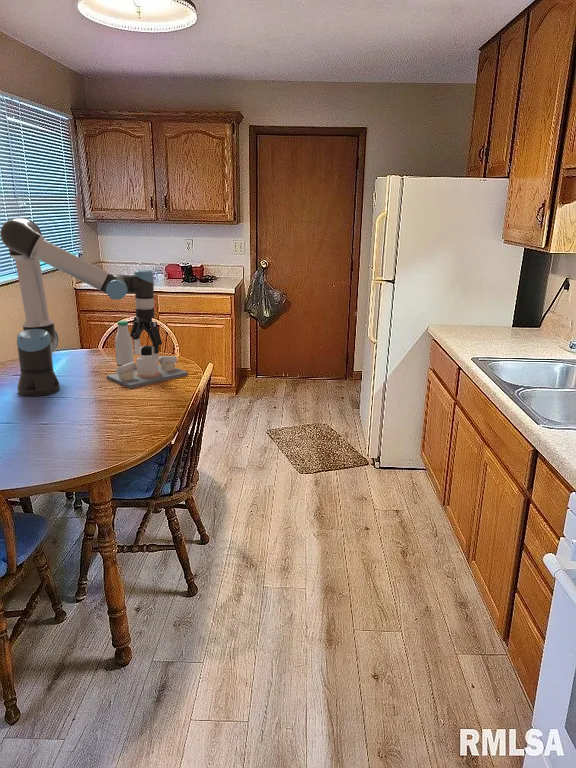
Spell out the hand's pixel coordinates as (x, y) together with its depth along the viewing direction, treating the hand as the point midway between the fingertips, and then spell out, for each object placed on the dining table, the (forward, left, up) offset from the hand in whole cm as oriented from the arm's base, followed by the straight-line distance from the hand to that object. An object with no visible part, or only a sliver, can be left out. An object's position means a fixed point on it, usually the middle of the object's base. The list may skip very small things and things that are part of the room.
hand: (146, 357), depth 238 cm
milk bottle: (+4, +25, -9) cm, 27 cm away
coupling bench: (0, 0, -9) cm, 9 cm away
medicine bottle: (0, 0, -7) cm, 7 cm away
